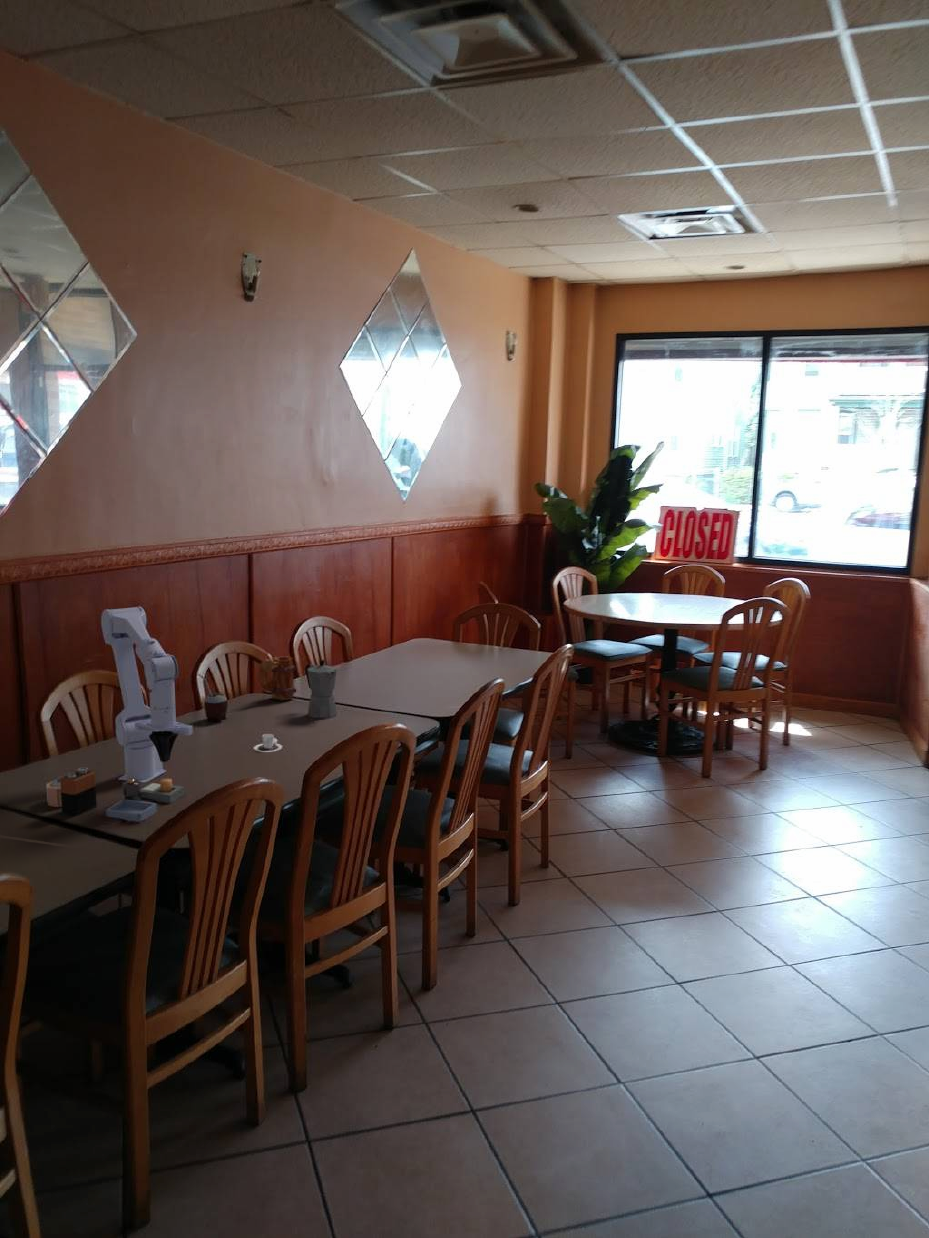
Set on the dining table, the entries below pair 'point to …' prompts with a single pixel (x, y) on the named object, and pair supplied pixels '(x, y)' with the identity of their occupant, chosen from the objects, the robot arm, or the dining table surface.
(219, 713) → the mate gourd
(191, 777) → the dining table surface
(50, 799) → the cup
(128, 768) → the robot arm
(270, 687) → the mug
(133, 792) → the copper top cell
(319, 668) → the coffeepot
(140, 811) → the trough tray
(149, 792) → the base
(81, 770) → the battery
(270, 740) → the teacup and saucer
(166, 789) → the button
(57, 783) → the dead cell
